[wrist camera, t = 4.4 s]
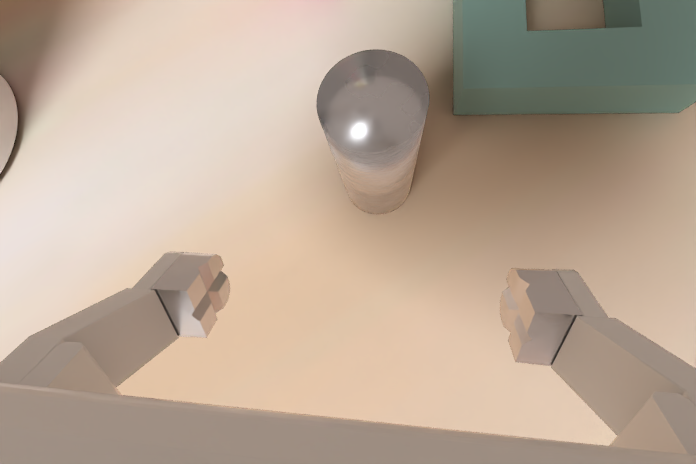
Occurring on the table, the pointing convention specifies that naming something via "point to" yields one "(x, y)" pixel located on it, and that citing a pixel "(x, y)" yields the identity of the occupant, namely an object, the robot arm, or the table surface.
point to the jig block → (574, 60)
